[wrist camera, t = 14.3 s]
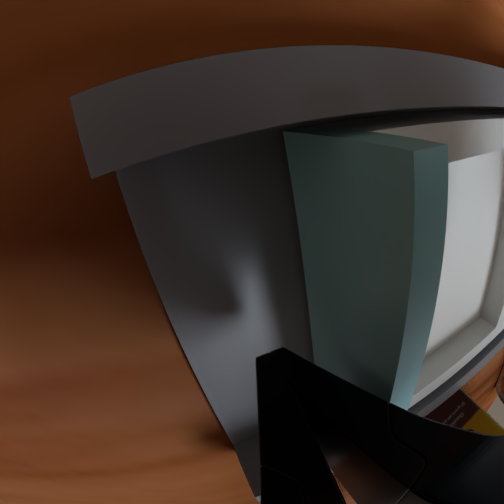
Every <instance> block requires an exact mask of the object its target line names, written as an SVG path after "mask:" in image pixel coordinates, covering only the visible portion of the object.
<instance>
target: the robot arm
mask: <svg viewBox="0 0 504 504" xmlns="http://www.w3.org/2000/svg"><path fill="white" fill-rule="evenodd" d="M255 362H256V385H257V409H258V432H259V455H260V466H261V467H260V504H346V502H345V500H344V497H343V495H342V493H341V491H340V489H339V487H338V485H337V482H336V480H335V478H334V476H333V474H332V471H333V473H334V474H335V475H336V477H337V478H338V479H339V481H340V482H341V483H342V485H343V486H344V487H345V489H346V490H347V491H348V493H349V494H350V495H351V496H352V498H353V499H354V500H355V502H356V503H357V504H504V435H486V434H480V433H476V432H472V431H468V430H465V429H461V428H457V427H454V426H450V425H447V424H443V423H440V422H437V421H434V420H431V419H428V418H425V417H422V416H419V415H417V414H414V413H412V412H410V411H407V410H405V409H403V408H401V407H398V406H396V405H394V404H392V403H388V401H386V400H384V399H382V398H380V397H378V396H376V395H374V394H371V393H369V392H367V391H365V390H363V389H361V388H360V387H358V386H356V385H354V384H352V383H350V382H348V381H346V380H344V379H342V378H340V377H338V376H336V375H334V374H332V373H331V372H329V371H327V370H325V369H323V368H321V367H319V366H317V365H316V364H314V363H312V362H310V361H308V360H306V359H305V358H303V357H301V356H299V355H297V354H295V353H294V352H292V351H290V350H288V349H287V348H285V347H280V348H278V349H275V350H273V351H271V352H270V353H265V354H263V355H260V356H258V357H256V359H255ZM331 470H332V471H331Z"/></svg>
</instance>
